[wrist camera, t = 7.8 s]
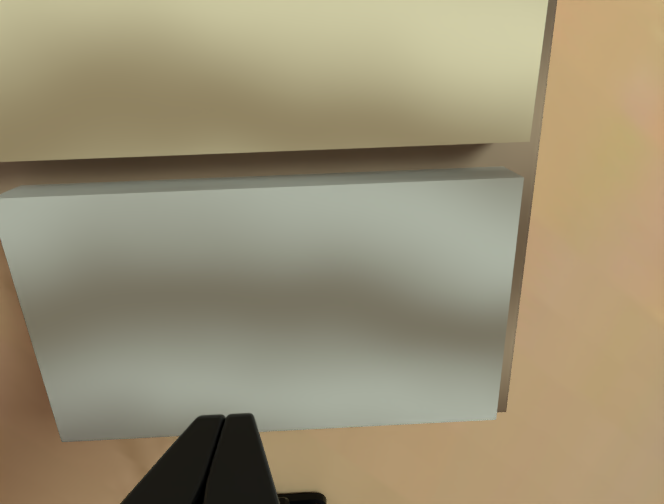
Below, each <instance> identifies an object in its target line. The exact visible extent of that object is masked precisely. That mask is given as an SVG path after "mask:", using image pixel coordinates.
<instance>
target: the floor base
mask: <svg viewBox="0 0 664 504" xmlns="http://www.w3.org/2000/svg"><path fill="white" fill-rule="evenodd" d="M556 5H557V0H548V7H547V15H546V22H545V30H544V37H543V45H542V53H541V60H540V68H539V76H538V83H537V91H536V98H535V106H534V114H533V121H532V129H531V136H530V142H509V143H483V144H457V145H431V146H405V147H379V148H353V149H327V150H301V151H275V152H249V153H223V154H197V155H171V156H145V157H119V158H93V159H67V160H41V161H15V162H0V239H1V242H2V246H3V249H4V252H5V256H6V259H7V262H8V266H9V269H10V272H11V276H12V279H13V282H14V286H15V289H16V292H17V295H18V299H19V302H20V305H21V309H22V312H23V315H24V319H25V322H26V325H27V329H28V332H29V335H30V338H31V342H32V345H33V348H34V352H35V355H36V358H37V362H38V365H39V368H40V372H41V375H42V378H43V382H44V385H45V388H46V391H47V395H48V398H49V401H50V405H51V408H52V411H53V415H54V418H55V421H56V425H57V428H58V431H59V434H60V438H61V441H62V442H73V441H93V440H112V439H131V438H150V437H170V436H180V435H181V434H182V433H183V432H184V431H185V430H186V429H187V427H188V426H189V425H190V424H191V423H192V422H193V421H194V420H195V419H196V418H197V417H198V416H200V415H214V414H222V415H224V416H225V417H226V416H227V415H229V414H236V413H252V414H253V415H254V418H255V421H256V424H257V427H258V431H259V432H266V431H285V430H305V429H324V428H343V427H363V426H382V425H401V424H420V423H440V422H459V421H478V420H496V415H497V412H506V408H507V400H508V392H509V384H510V376H511V368H512V360H513V352H514V344H515V336H516V328H517V320H518V312H519V303H520V295H521V287H522V279H523V271H524V263H525V255H526V247H527V239H528V231H529V223H530V215H531V207H532V199H533V191H534V183H535V175H536V167H537V158H538V150H539V142H540V134H541V126H542V118H543V110H544V102H545V94H546V86H547V78H548V70H549V62H550V54H551V46H552V38H553V30H554V22H555V13H556Z"/></svg>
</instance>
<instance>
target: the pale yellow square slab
mask: <svg viewBox="0 0 664 504" xmlns="http://www.w3.org/2000/svg"><path fill="white" fill-rule="evenodd" d="M547 7H548V0H0V162H15V161H41V160H67V159H93V158H119V157H145V156H171V155H197V154H223V153H249V152H275V151H301V150H327V149H353V148H379V147H405V146H431V145H457V144H483V143H509V142H530V136H531V129H532V121H533V114H534V106H535V98H536V91H537V83H538V76H539V68H540V60H541V53H542V45H543V37H544V30H545V22H546V15H547Z"/></svg>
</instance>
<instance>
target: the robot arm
mask: <svg viewBox="0 0 664 504" xmlns="http://www.w3.org/2000/svg"><path fill="white" fill-rule="evenodd" d="M315 503H318V504H326V497H325V496H324V495H323V494H321V493H306V494H288V495H277V492H276V489H275V485H274V482H273V478H272V475H271V472H270V468H269V465H268V461H267V458H266V455H265V451H264V448H263V444H262V441H261V438H260V434H259V431H258V427H257V424H256V421H255V418H254V415H253V414H252V413H236V414H229V415H227V416H226V417H225V416H224V415H222V414H214V415H200V416H198V417H197V418H196V419H195V420H194V421H193V422H192V423H191V424H190V425H189V426H188V427H187V429H186V430H185V431H184V432H183V433H182V434H181V435H180V436H179V438H178V439H177V440H176V441H175V442H174V443H173V444H172V446H171V447H170V448H169V449H168V450H167V451H166V452H165V453H164V455H163V456H162V457H161V458H160V459H159V460H158V461H157V463H156V464H155V465H154V466H153V467H152V468H151V469H150V470H149V472H148V473H147V474H146V475H145V476H144V477H143V478H142V480H141V481H140V482H139V483H138V484H137V485H136V486H135V488H134V489H133V490H132V491H131V492H130V493H129V494H128V495H127V497H126V498H125V499H124V500H123V501H122V502H121V503H120V504H315Z"/></svg>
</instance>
